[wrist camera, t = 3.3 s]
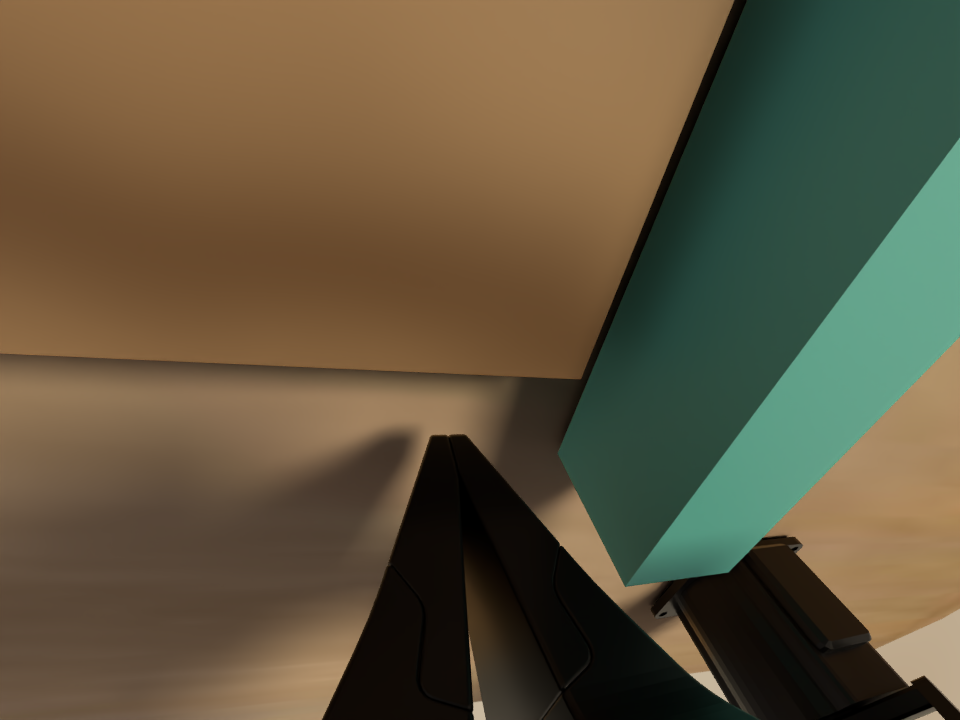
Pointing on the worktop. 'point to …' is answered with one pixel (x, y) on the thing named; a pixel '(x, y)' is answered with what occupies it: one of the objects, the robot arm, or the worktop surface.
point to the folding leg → (778, 282)
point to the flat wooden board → (334, 176)
